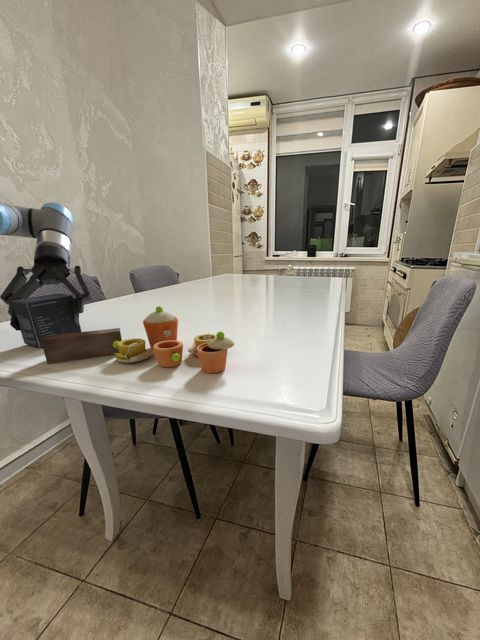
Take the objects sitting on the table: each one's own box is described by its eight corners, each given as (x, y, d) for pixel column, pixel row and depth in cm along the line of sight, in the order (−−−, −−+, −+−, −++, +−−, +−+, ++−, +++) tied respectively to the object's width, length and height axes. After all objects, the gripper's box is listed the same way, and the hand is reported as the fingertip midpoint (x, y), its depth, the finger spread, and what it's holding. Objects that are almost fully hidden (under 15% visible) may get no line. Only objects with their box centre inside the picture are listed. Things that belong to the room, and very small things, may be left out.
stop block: (47, 364, 58) (40, 340, 56) (49, 358, 60) (43, 336, 59) (124, 353, 64) (120, 331, 62) (123, 348, 66) (119, 327, 65)
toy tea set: (103, 363, 58) (94, 316, 55) (152, 340, 72) (147, 301, 69) (221, 380, 51) (219, 327, 48) (251, 351, 65) (250, 308, 62)
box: (67, 332, 77) (58, 292, 74) (83, 335, 75) (74, 294, 71) (22, 343, 68) (9, 299, 65) (39, 348, 66) (26, 302, 62)
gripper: (106, 262, 83) (105, 329, 74) (7, 264, 76) (-6, 337, 68) (99, 243, 76) (97, 313, 67) (-10, 242, 70) (-28, 320, 61)
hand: (45, 325), depth 68 cm, fingers closed on box, 11 cm apart
